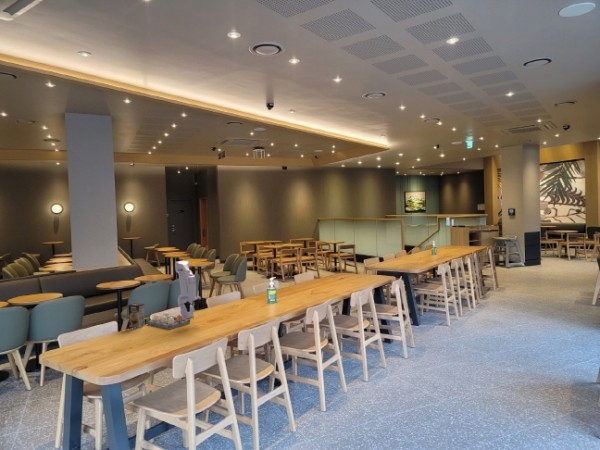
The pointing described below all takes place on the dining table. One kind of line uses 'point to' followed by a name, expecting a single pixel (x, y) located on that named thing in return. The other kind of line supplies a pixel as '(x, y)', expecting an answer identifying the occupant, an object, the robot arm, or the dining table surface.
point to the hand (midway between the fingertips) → (192, 310)
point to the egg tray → (167, 321)
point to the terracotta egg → (179, 318)
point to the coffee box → (136, 315)
